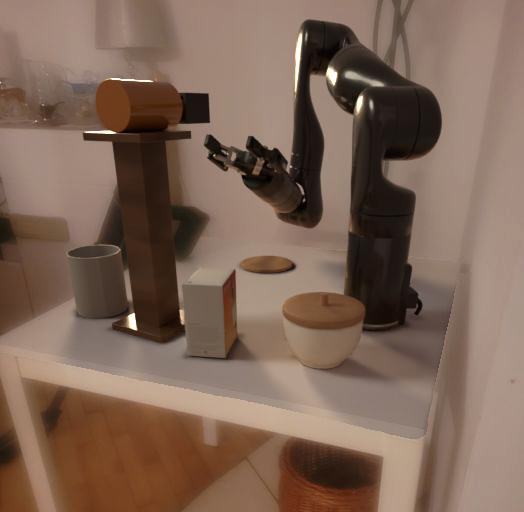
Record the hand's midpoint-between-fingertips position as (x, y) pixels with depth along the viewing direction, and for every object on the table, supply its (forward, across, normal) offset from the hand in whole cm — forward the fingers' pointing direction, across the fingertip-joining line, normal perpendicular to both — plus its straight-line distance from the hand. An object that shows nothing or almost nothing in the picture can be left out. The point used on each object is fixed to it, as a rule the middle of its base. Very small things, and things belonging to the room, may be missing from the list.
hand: (227, 140), depth 82 cm
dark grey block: (+11, 0, +1) cm, 11 cm away
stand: (+6, 0, +33) cm, 33 cm away
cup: (+5, -13, +33) cm, 36 cm away
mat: (-26, -1, +15) cm, 30 cm away
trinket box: (+4, +27, +32) cm, 42 cm away
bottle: (+15, 0, +6) cm, 17 cm away
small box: (+7, +12, +34) cm, 37 cm away
